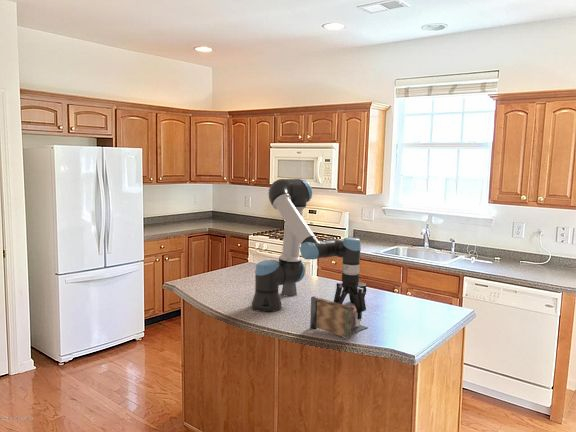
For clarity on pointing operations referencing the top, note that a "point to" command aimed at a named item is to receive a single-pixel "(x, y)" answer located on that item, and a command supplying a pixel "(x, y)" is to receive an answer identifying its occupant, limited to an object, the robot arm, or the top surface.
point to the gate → (334, 317)
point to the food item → (353, 317)
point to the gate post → (313, 312)
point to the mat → (358, 329)
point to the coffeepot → (289, 289)
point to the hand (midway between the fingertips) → (348, 322)
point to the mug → (361, 285)
